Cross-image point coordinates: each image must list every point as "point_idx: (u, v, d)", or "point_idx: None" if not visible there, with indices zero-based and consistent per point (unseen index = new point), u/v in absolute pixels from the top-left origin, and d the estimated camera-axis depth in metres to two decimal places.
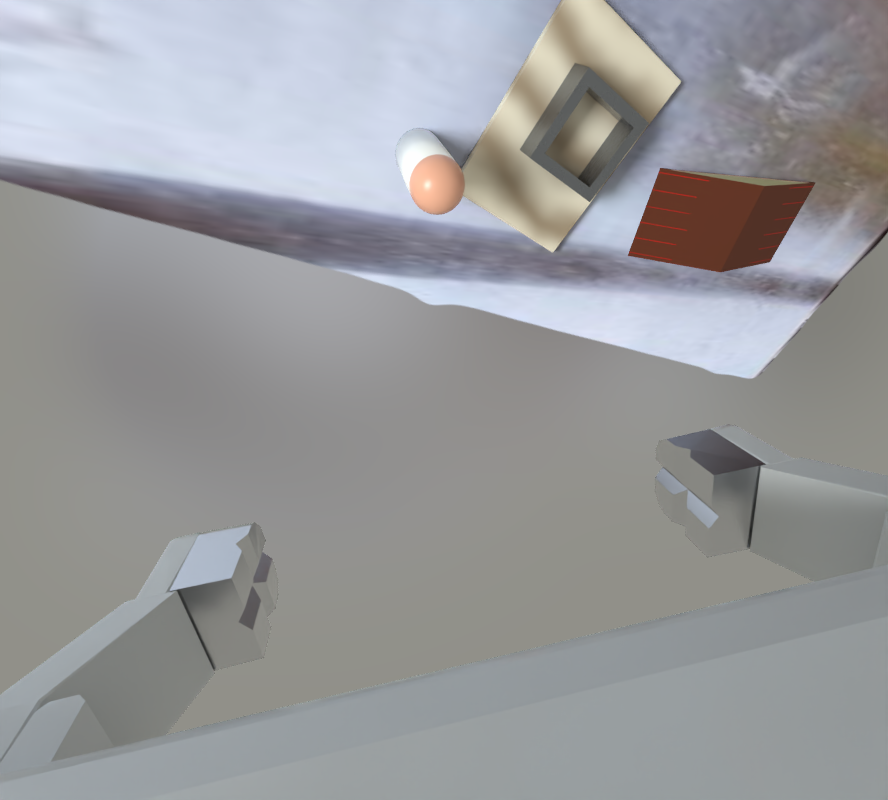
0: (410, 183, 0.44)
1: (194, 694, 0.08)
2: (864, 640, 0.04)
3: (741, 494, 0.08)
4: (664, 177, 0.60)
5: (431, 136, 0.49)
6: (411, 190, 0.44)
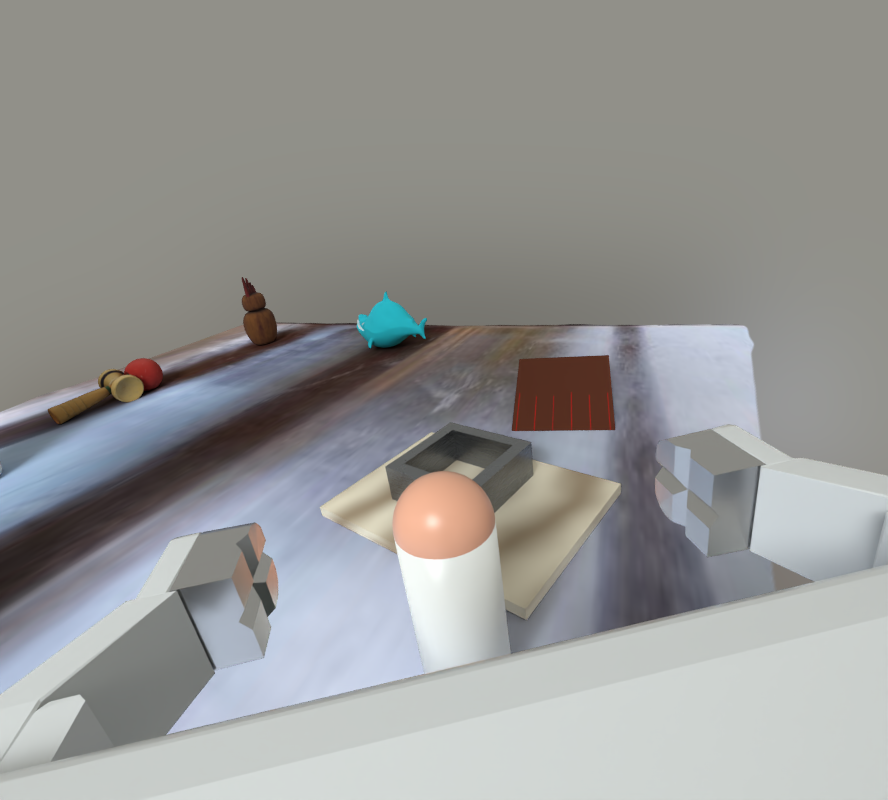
0: (428, 552, 0.22)
1: (194, 694, 0.08)
2: (865, 640, 0.04)
3: (741, 494, 0.08)
4: (520, 424, 0.56)
5: None
6: (439, 546, 0.22)
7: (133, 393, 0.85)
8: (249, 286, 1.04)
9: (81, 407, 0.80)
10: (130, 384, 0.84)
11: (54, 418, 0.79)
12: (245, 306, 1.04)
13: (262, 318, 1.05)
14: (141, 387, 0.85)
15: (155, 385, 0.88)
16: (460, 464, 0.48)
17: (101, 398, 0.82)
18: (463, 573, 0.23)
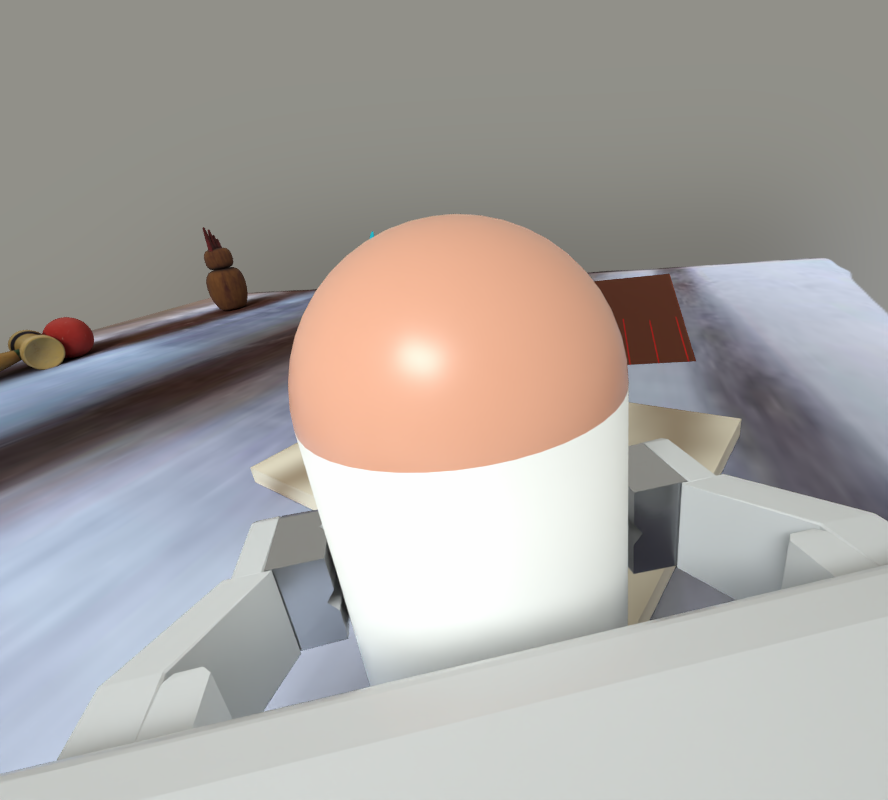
0: (401, 442, 0.05)
1: (284, 673, 0.08)
2: (865, 640, 0.04)
3: (664, 511, 0.08)
4: None
5: None
6: (445, 416, 0.05)
7: (50, 359, 0.67)
8: (213, 239, 0.88)
9: None
10: (46, 347, 0.67)
11: None
12: (208, 263, 0.88)
13: (228, 277, 0.89)
14: (61, 351, 0.68)
15: (82, 351, 0.71)
16: None
17: (8, 364, 0.65)
18: (536, 532, 0.06)
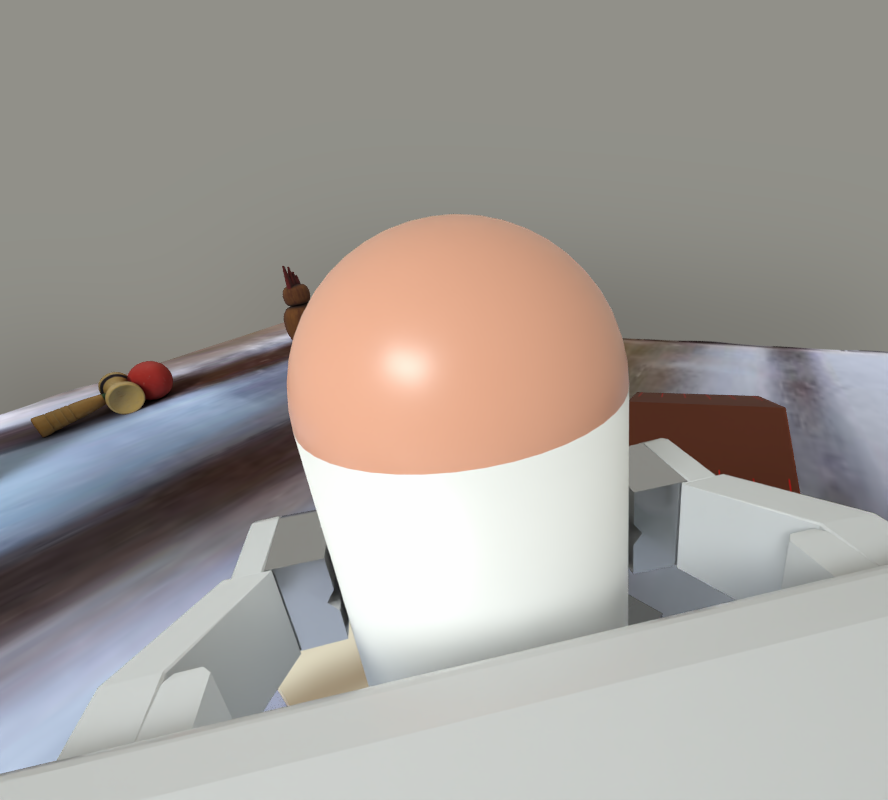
0: (400, 443, 0.05)
1: (284, 673, 0.08)
2: (865, 640, 0.04)
3: (664, 511, 0.08)
4: None
5: None
6: (444, 417, 0.05)
7: (132, 403, 0.71)
8: (292, 276, 0.89)
9: (69, 418, 0.67)
10: (128, 392, 0.70)
11: None
12: (286, 300, 0.89)
13: None
14: (141, 396, 0.71)
15: (161, 394, 0.74)
16: None
17: (95, 408, 0.69)
18: (536, 534, 0.06)
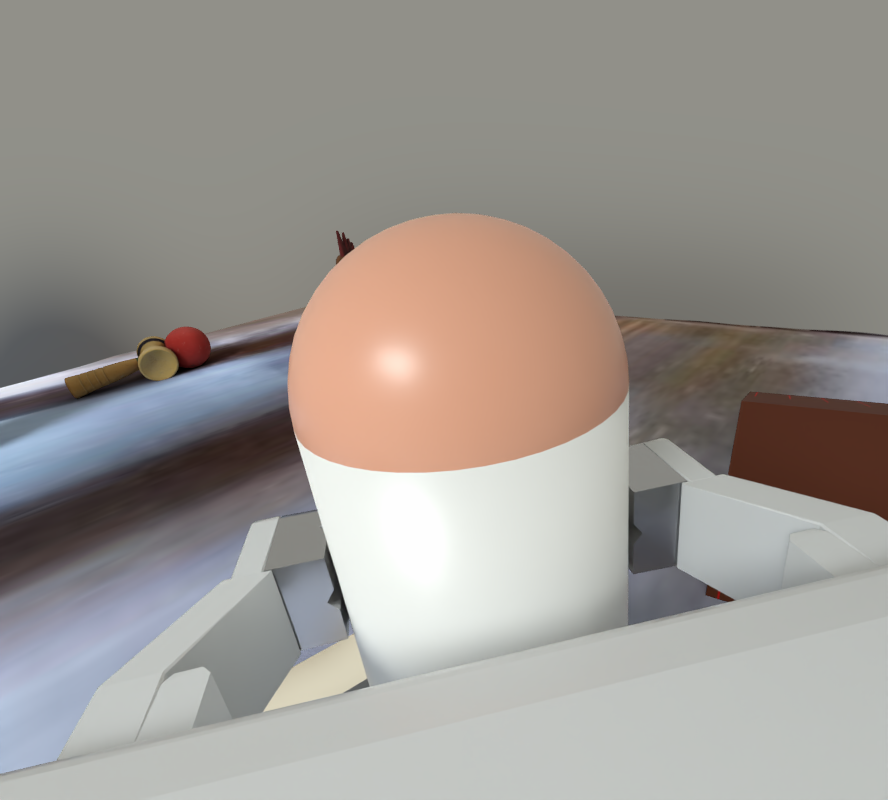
0: (400, 441, 0.05)
1: (284, 673, 0.08)
2: (865, 640, 0.04)
3: (664, 511, 0.08)
4: None
5: None
6: (444, 415, 0.05)
7: (165, 370, 0.67)
8: (346, 243, 0.81)
9: (102, 380, 0.65)
10: (162, 358, 0.66)
11: None
12: None
13: None
14: (175, 363, 0.67)
15: (197, 362, 0.69)
16: None
17: (129, 372, 0.66)
18: (536, 532, 0.06)
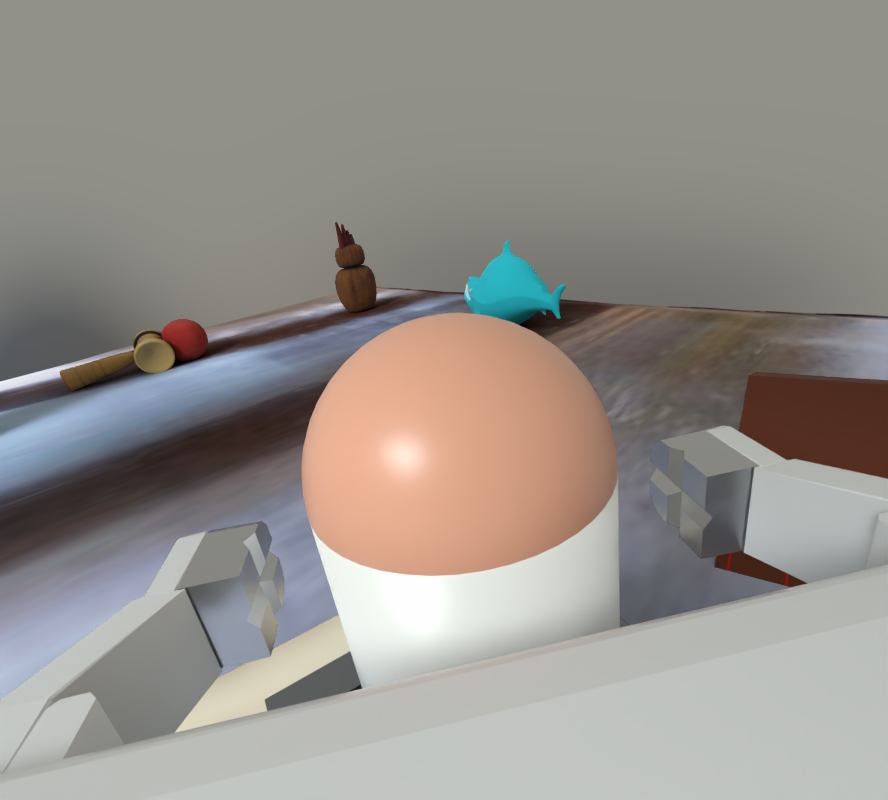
0: (407, 548, 0.06)
1: (202, 692, 0.08)
2: (865, 640, 0.04)
3: (735, 496, 0.08)
4: (742, 556, 0.21)
5: None
6: (447, 527, 0.06)
7: (162, 362, 0.66)
8: (345, 235, 0.81)
9: (98, 373, 0.64)
10: (158, 351, 0.66)
11: None
12: (338, 260, 0.81)
13: (356, 277, 0.81)
14: (171, 355, 0.66)
15: (193, 355, 0.69)
16: None
17: (125, 364, 0.66)
18: (532, 622, 0.06)
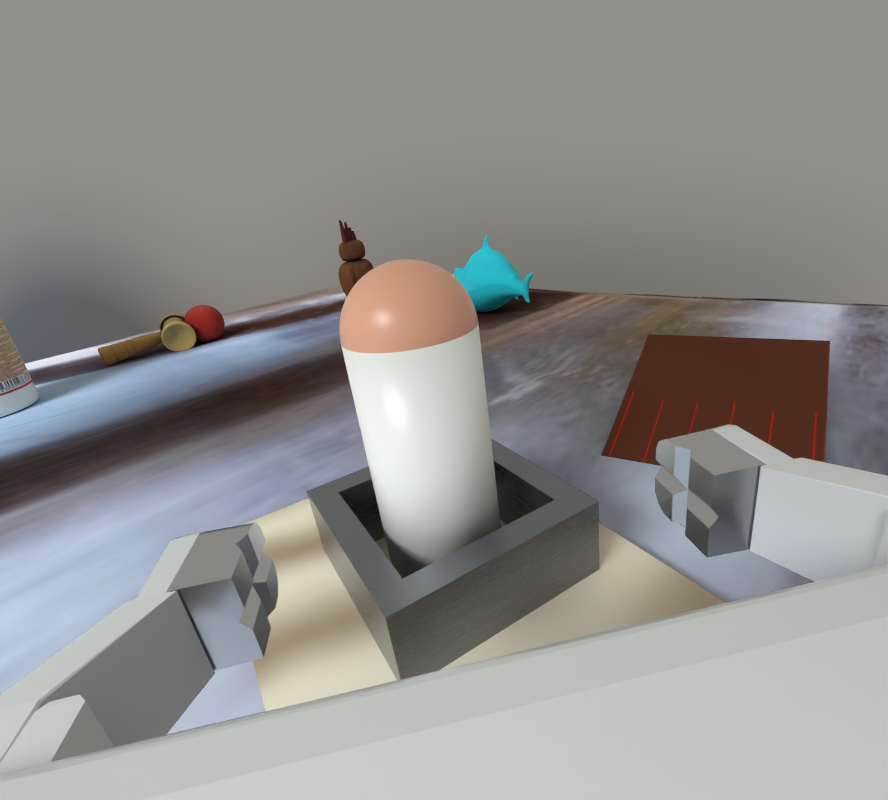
0: (383, 341, 0.16)
1: (194, 694, 0.08)
2: (864, 640, 0.04)
3: (741, 494, 0.08)
4: (620, 447, 0.31)
5: None
6: (398, 332, 0.16)
7: (185, 342, 0.76)
8: (348, 231, 0.91)
9: (130, 351, 0.74)
10: (182, 332, 0.75)
11: None
12: (341, 254, 0.91)
13: (357, 269, 0.91)
14: (193, 336, 0.76)
15: (212, 337, 0.78)
16: None
17: (153, 344, 0.75)
18: (432, 377, 0.16)
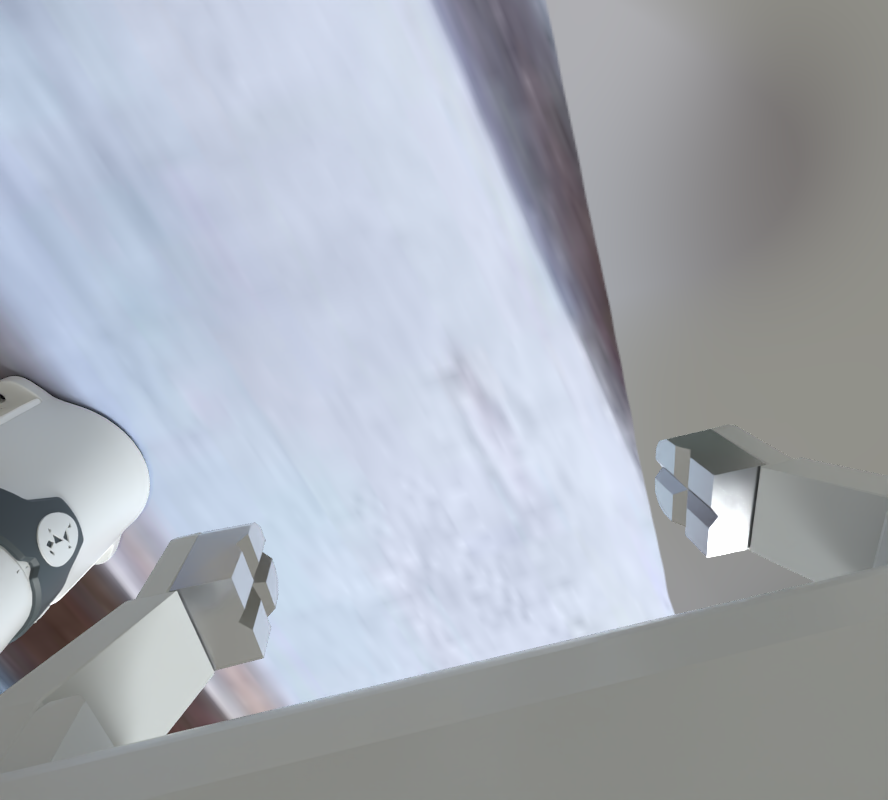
0: None
1: (194, 694, 0.08)
2: (864, 640, 0.04)
3: (741, 494, 0.08)
4: None
5: None
6: None
7: None
8: None
9: None
10: None
11: None
12: None
13: None
14: None
15: None
16: None
17: None
18: None
